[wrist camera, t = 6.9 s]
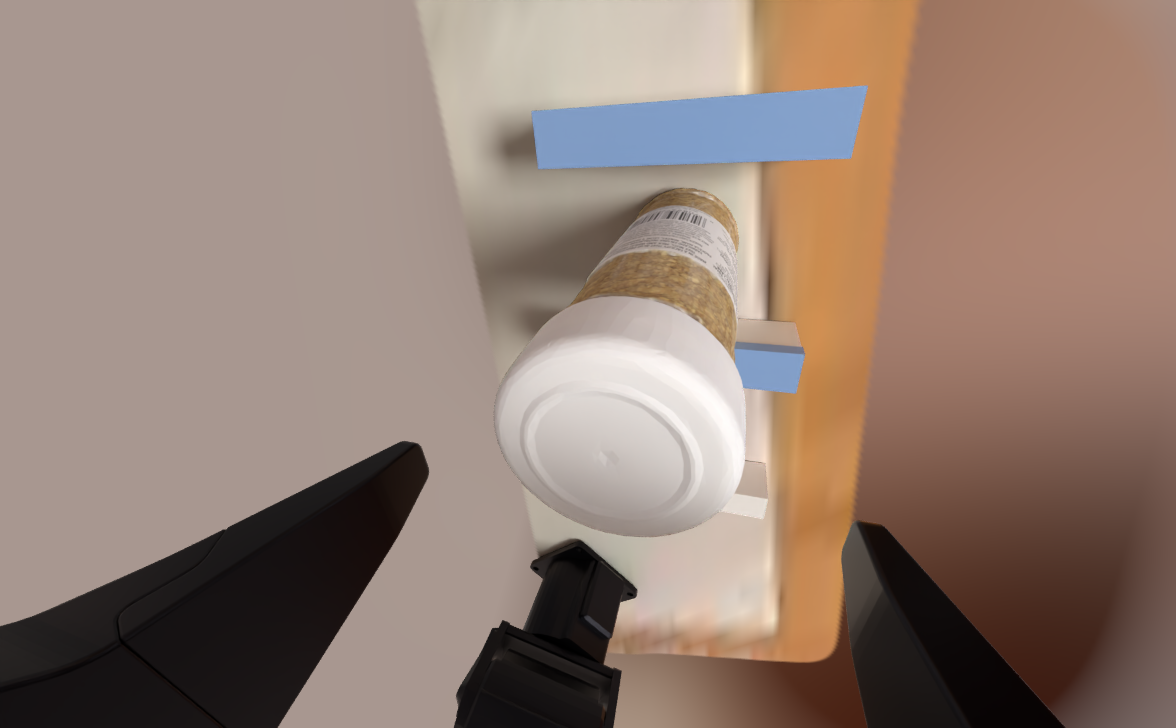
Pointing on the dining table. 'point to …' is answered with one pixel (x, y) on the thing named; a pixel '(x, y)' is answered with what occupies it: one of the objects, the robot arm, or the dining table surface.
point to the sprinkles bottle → (637, 380)
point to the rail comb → (716, 136)
